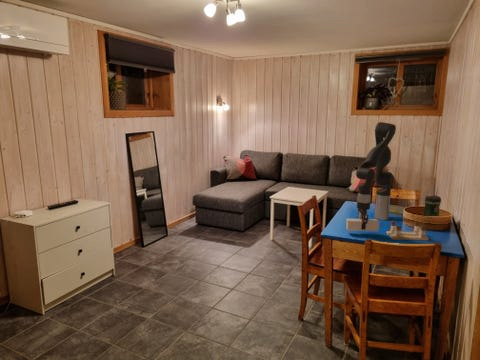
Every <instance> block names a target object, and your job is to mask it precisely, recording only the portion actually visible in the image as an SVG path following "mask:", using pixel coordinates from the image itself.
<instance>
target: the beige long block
mask: <svg viewBox="0 0 480 360" xmlns="http://www.w3.org/2000/svg"><path fill="white" fill-rule="evenodd" d="M345 221H346V223H345V225H346V227H345V228H346V230H347V231H349V232H350V231H353V232H355V231H357V232H379V230H380V221H379V219H376V218H373V219H372V218H368V222H367V224H366V228H365V230H362V229H361V226H362V220H361V219H359V218H346V220H345ZM364 222H365V221H364Z"/></svg>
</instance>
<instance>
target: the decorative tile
mask: <svg viewBox="0 0 480 360" xmlns="http://www.w3.org/2000/svg"><path fill="white" fill-rule="evenodd" d="M404 208H406V207H405V206H401V205H398V204H397V205H394V204H390V208H389V215H394V216H400V217H404V216H403V209H404Z"/></svg>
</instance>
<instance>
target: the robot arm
mask: <svg viewBox="0 0 480 360" xmlns="http://www.w3.org/2000/svg"><path fill="white" fill-rule="evenodd" d="M396 130H397V127H396V125H395V124H393V123H388V122H385V121H384V122H381V121H378V123H376V125H375V129H374V137H375V146H374V147H372V148H371V149H370V151H369V152H368V154H367V155H366V157H365V160H363V162H362V163H361V164H360V165H359V167H358V168H357V169H356V171H355V176H356V178H357V179H359V180H363V181H364V180H365V182H364V183H363V182H362V183H359V184H358V187H357V188H358V189H357V198H356V208H357V219H361V220H362V226H361V229H362V230H365V228H366V224H367V222H368V219H369V214H368V211H369V210H370V209H371V200H372V198H371V196H372V195H371V192H372V191H371V190H372V186H373V182H375V184H376V185H379V186H385V187H383V188H380V189H377V190H376V193H375V194H376V195H375V209H374V219H377V220H378V221H379V220H381V221H388V220H389V219H390V217H389V216H390V214H389V208H390V205H391V193H392V192H391V190H392V182H393V173H392V172H388V171H383V170H384V169H385V168H386V167H387V165H389V164H390V162H391V160H392V151H391V148H390V146H389V144H390V142H391V141H392V140H393V138H394V136H395V135H396ZM374 168H375V170H374ZM364 221H365V222H364Z"/></svg>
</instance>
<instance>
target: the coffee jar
mask: <svg viewBox="0 0 480 360" xmlns="http://www.w3.org/2000/svg"><path fill="white" fill-rule="evenodd" d="M441 203H442V198H441V196H438V195H429V196H425V197H424V210H423V215H424V216H439V217H440V205H441Z"/></svg>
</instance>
